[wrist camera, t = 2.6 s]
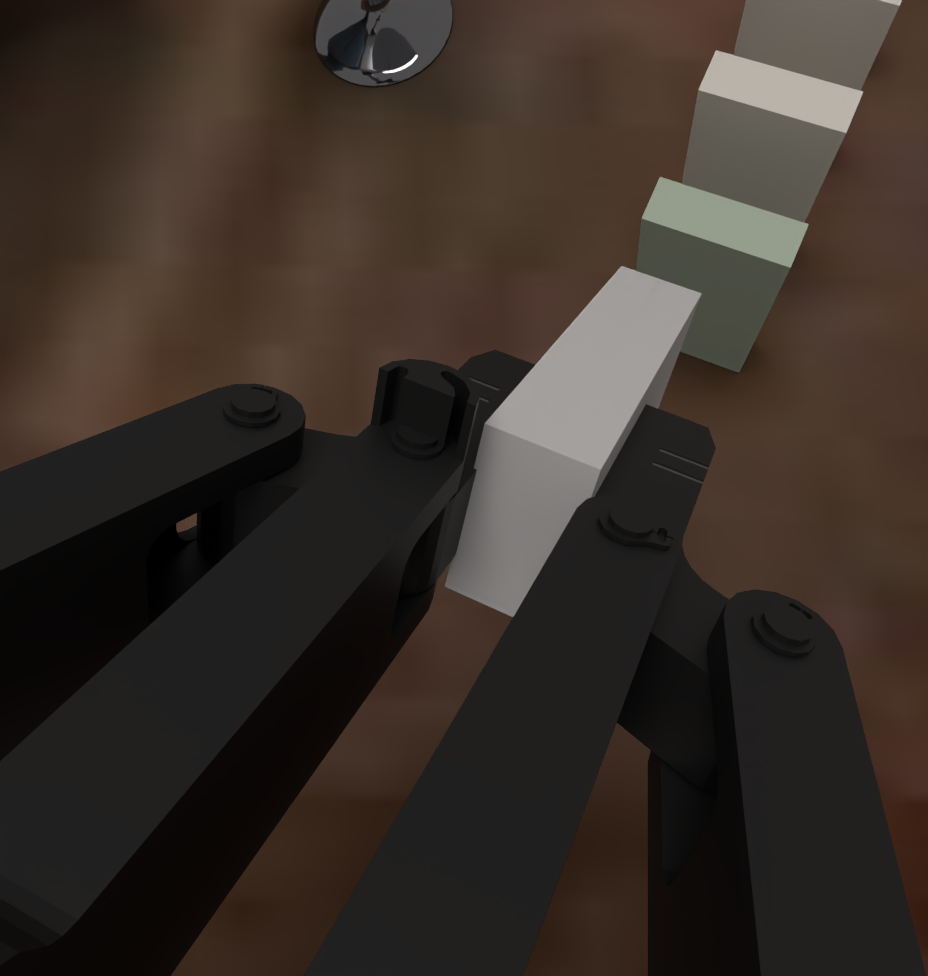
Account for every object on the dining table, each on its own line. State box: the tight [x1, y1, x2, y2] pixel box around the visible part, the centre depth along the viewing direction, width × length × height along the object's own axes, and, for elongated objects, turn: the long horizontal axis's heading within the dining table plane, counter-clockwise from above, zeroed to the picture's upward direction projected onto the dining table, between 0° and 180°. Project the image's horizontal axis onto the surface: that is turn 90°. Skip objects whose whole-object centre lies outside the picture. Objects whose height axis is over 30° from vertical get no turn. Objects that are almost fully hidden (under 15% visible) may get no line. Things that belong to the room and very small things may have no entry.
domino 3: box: [636, 177, 809, 373], centre depth 33 cm, size 2×5×10 cm, turn 65°
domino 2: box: [682, 50, 863, 223], centre depth 34 cm, size 2×5×10 cm, turn 66°
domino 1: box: [734, 0, 902, 91], centre depth 34 cm, size 2×5×10 cm, turn 65°
